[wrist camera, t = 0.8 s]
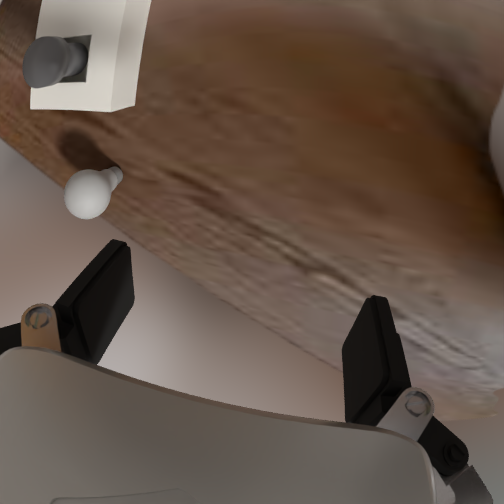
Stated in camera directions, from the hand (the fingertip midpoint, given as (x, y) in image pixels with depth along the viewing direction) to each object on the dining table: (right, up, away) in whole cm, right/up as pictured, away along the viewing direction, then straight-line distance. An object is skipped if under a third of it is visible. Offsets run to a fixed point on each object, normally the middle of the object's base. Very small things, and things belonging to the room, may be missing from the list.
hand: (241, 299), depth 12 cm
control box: (-19, +33, +17) cm, 42 cm away
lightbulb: (-19, +13, +29) cm, 37 cm away
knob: (-21, +25, +16) cm, 37 cm away
